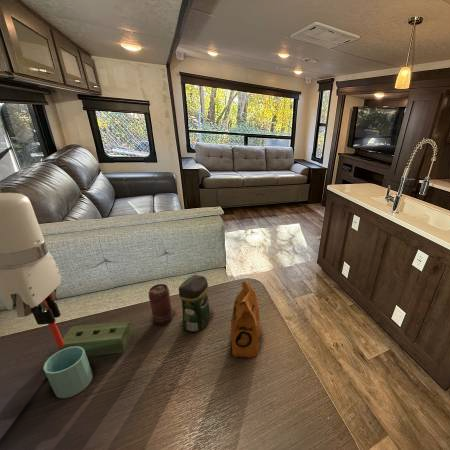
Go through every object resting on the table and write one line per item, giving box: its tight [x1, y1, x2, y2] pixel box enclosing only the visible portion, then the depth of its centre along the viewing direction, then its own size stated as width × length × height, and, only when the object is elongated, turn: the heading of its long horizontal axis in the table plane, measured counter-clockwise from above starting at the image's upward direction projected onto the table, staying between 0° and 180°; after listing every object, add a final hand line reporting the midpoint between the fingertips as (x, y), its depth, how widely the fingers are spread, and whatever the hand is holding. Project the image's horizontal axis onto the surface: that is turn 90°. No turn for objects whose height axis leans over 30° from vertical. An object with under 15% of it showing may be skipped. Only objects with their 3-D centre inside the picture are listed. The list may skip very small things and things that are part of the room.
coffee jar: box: [178, 274, 212, 332], centre depth 87 cm, size 10×8×19 cm
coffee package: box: [230, 280, 262, 359], centre depth 80 cm, size 10×12×22 cm
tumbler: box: [42, 346, 94, 399], centre depth 65 cm, size 8×8×10 cm
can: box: [148, 283, 174, 326], centre depth 87 cm, size 6×6×14 cm
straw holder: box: [58, 320, 134, 358], centre depth 77 cm, size 7×16×6 cm, turn 103°
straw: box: [44, 300, 64, 348], centre depth 59 cm, size 1×1×14 cm
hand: (49, 319), depth 58 cm, fingers closed on straw, 1 cm apart
